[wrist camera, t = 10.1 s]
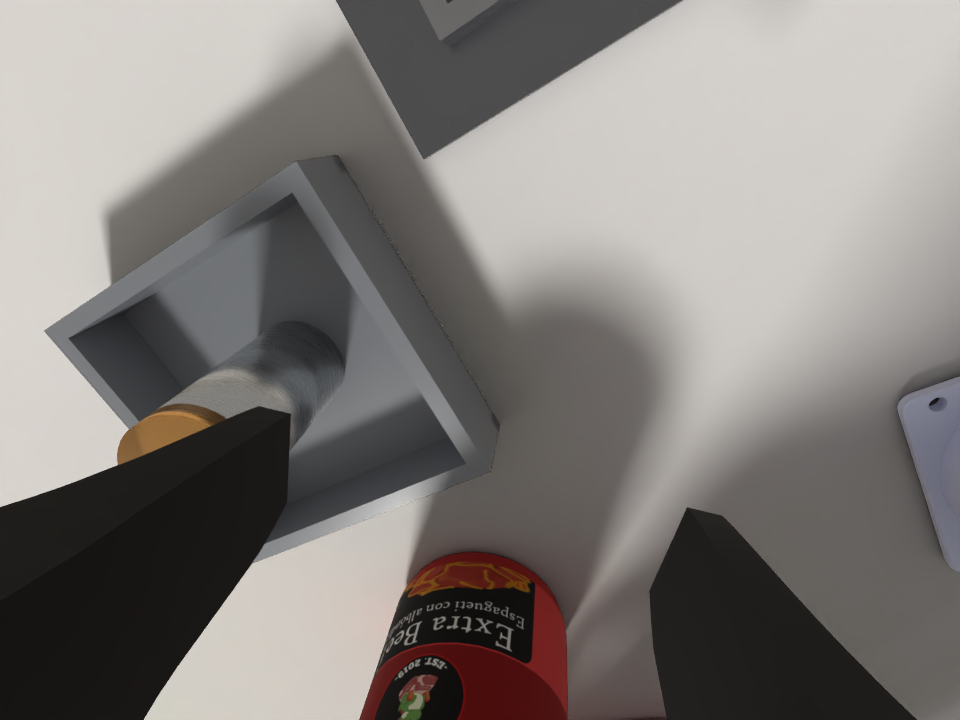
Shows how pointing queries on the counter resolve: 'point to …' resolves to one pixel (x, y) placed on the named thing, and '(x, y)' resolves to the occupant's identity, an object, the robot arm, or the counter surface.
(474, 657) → the canned food
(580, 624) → the counter surface
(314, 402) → the grey and gold cylinder
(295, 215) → the bin
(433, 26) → the socket base
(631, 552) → the counter surface
